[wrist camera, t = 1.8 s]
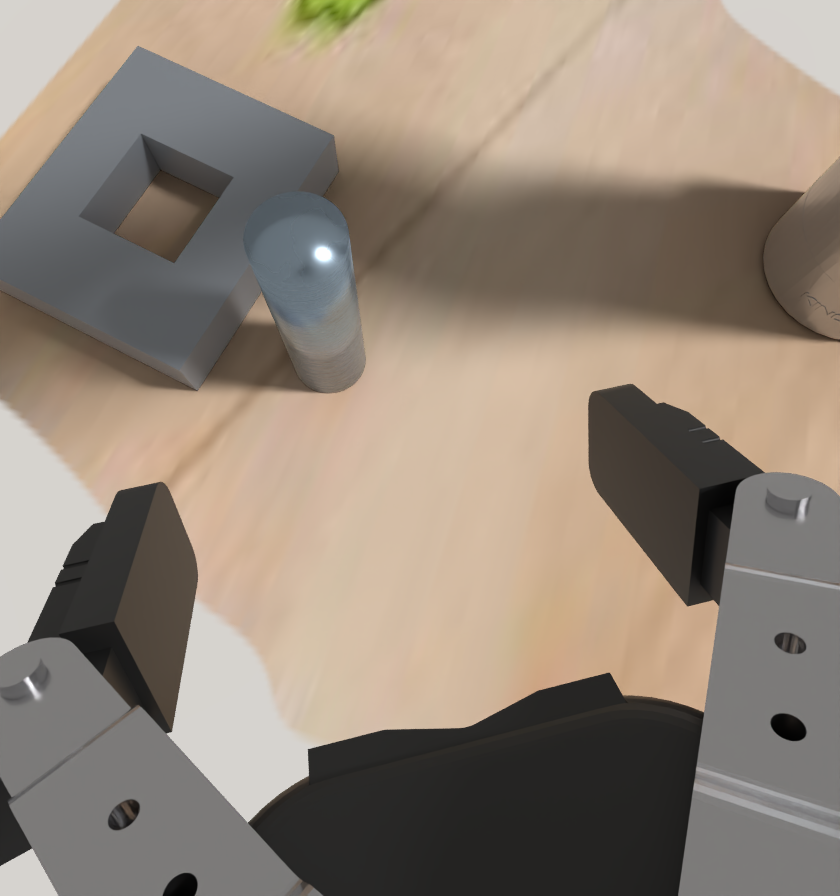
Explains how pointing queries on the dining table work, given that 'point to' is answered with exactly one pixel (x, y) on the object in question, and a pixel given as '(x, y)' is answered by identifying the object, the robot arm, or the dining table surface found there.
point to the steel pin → (309, 286)
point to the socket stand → (122, 184)
